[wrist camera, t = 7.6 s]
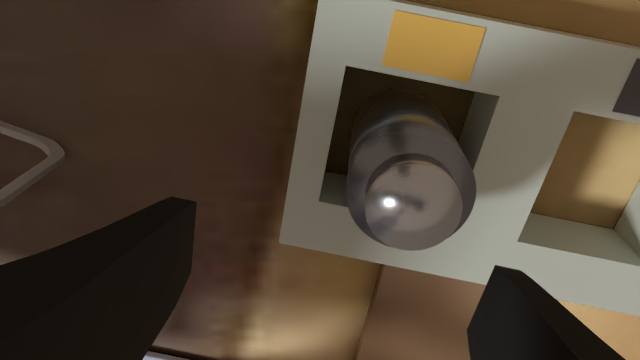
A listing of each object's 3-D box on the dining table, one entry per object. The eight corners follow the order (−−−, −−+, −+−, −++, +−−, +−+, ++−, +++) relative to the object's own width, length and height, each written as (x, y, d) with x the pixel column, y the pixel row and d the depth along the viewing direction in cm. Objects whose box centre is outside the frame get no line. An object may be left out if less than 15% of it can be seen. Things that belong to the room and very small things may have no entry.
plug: (438, 178, 20) (471, 272, 14) (349, 172, 20) (341, 261, 14) (451, 90, 18) (496, 150, 12) (354, 85, 19) (348, 141, 12)
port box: (618, 275, 21) (656, 320, 18) (289, 208, 21) (278, 243, 19) (739, 66, 17) (811, 84, 14) (327, -16, 17) (320, -14, 14)
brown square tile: (492, 392, 25) (496, 404, 24) (352, 363, 25) (352, 375, 24) (548, 279, 22) (554, 290, 21) (387, 247, 22) (387, 256, 21)
